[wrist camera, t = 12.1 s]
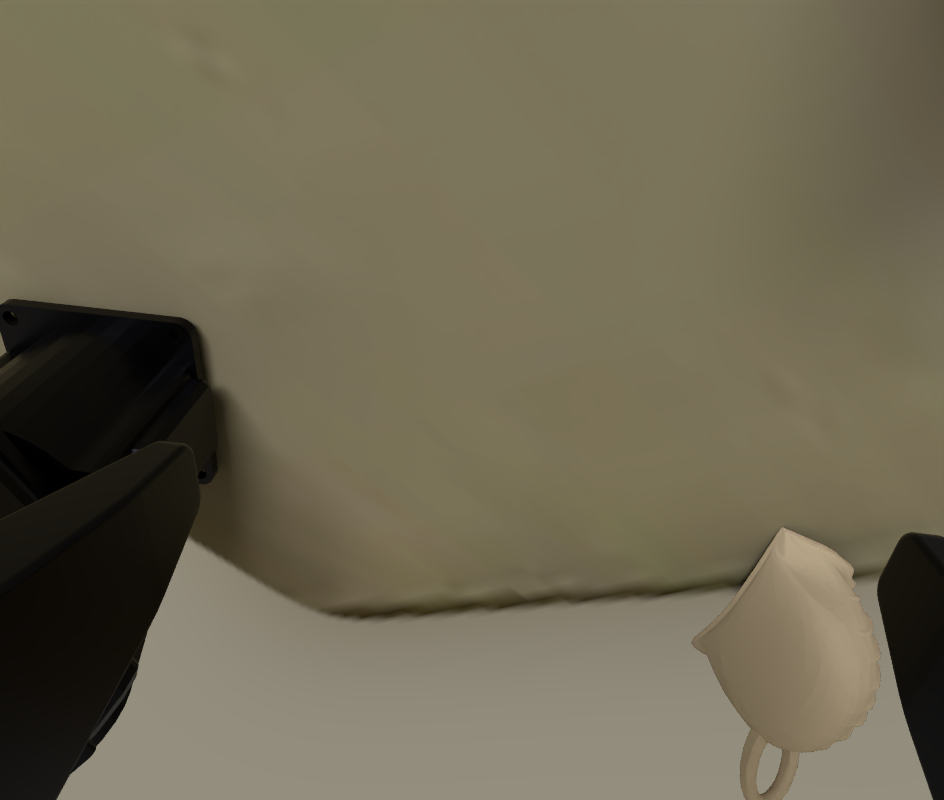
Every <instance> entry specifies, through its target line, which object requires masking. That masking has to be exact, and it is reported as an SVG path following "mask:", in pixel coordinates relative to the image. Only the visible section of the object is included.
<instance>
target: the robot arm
mask: <svg viewBox="0 0 944 800" xmlns="http://www.w3.org/2000/svg"><path fill="white" fill-rule="evenodd" d="M11 312H12V313H14V314H15V315H16V316H17V318H18V319H16V318H15V317H13V315H12V314H11ZM174 330H177V331H180V332H181V333H182V334H183V336H184V338H180V337H178V336H177V335H176V334H175V332H174ZM0 332H1V335H2V339H3V342H4V345H5V348H6V351H7V352H6V353H5V354H4V355H2V356H1V357H0V800H56V799H57V798H58V796H59V794H60V792H61V790H62V788H63V786H64V785H65V783H66V781H67V779H68V777H69V775H70V774H71V773H72V772H74V771H75V770H76V769H77V768H78V767H79V766H81V765H82V764H83V763H84V762H85V761H86V760H88V759H89V758H90V757H91V756H92V754H93V753H94V752H95V750H96V746H97V745H98V744H99V743H100V742H101V740H102V739H103V738H104V737H105V735H106V734H107V732H108V731H109V730H110V729H111V727H112V726H113V725H114V723H115V722H116V720H117V719H118V717H119V715H120V713H121V712H122V710H123V708H124V706H125V704H126V702H127V699H128V696H129V694H130V691H131V688H132V684H133V681H134V680H135V678H136V675H137V670H138V663H139V659H140V656H141V652H142V649H143V645H144V642H145V638H146V635H147V631H148V629H149V627H150V625H151V623H152V621H153V619H154V617H155V615H156V613H157V611H158V609H159V606H160V604H161V602H162V600H163V597H164V595H165V592H166V590H167V588H168V585H169V582H170V580H171V578H172V575H173V573H174V570H175V568H176V565H177V563H178V560H179V557H180V555H181V553H182V550H183V547H184V545H185V542H186V540H187V538H188V535H189V533H190V530H191V528H192V525H193V523H194V520H195V518H196V515H197V513H198V510H199V506H200V496H201V495H200V487H199V484H207V483H210V482H211V481H212V479H213V478H214V476H215V475H216V473H217V470H218V467H217V460H216V454H215V449H216V448H217V446H218V438H217V431H216V424H215V418H214V411H213V404H212V397H211V391H210V386H209V385H208V384H207V382H206V381H205V380H204V376H203V369H202V363H201V356H200V350H199V343H198V337H197V332H196V329H195V327H194V326H193V325H192V323H191V322H189V321H188V320H186V319H184V318H180V317H172V316H163V315H154V314H145V313H136V312H127V311H118V310H109V309H100V308H91V307H82V306H72V305H63V304H54V303H45V302H36V301H27V300H18V299H9V300H7V301H6V302H4V303H3V304H1V305H0ZM202 469H203V470H205V472H203V471H201V470H202ZM877 596H878V601H879V606H880V611H881V615H882V620H883V624H884V629H885V633H886V638H887V642H888V647H889V651H890V656H891V660H892V665H893V669H894V674H895V678H896V683H897V687H898V692H899V696H900V700H901V704H902V708H903V711H904V715H905V718H906V721H907V724H908V727H909V731H910V734H911V736H912V740H913V742H914V745H915V748H916V751H917V754H918V757H919V760H920V763H921V766H922V769H923V771H924V774H925V778H926V780H927V783H928V786H929V789H930V792H931V795H932V798H933V800H944V537H942V536H938V535H931V534H923V533H915V532H911V533H907V534H905V535H903V536H902V537H901V538H900V540H899V541H898V543H897V545H896V547H895V549H894V551H893V553H892V555H891V557H890V559H889V561H888V563H887V564H886V566H885V568H884V570H883V572H882V574H881V576H880V579H879V582H878V588H877Z"/></svg>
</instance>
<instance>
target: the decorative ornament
mask: <svg viewBox="0 0 944 800" xmlns="http://www.w3.org/2000/svg"><path fill="white" fill-rule="evenodd" d="M853 572H854V569H853V567H852V566H851V565H850V564H849V563H848V562H847V561H846V560H844V559H843V558H841V557H840V556H839V555H838V554H837V553H836V552H835V551H833V550H832V549H830V548H828V547H827V546H825V545H823V544H820V543H818V542H816V541H813V540H811V539H809V538H807V537H804V536H802V535H800V534H797V533H795V532H793V531H790V530H788V529H785V528H783V527H782V528H781V529H780V530H779V532H778V533H777V535H776V536H775V538H774V539H773V541H772V542H771V544H770V545H769V547H768V548H767V550H766V552H765V553H764V555H763V556H762V558H761V559H760V561H759V562H758V564H757V565H756V567H755V568H754V570H753V571H752V573H751V574H750V576H749V577H748V579H747V580H746V581H745V583H744V584H743V586H742V587H741V589H740V590H739V591H738V593H737V594H736V596H735V597H734V599H733V600H732V601H731V602H730V603H729V605H728V606H727V607H726V608H725V610H724V611H723V612H722V613H721V614H720V615H719V616H718V617H717V618H716V619H715V620H714V621H713V622H712V623H711V624H710V625H709V626H708V627H706V628H705V629H704V630H703V631H702V632H700V633H699V634H698V635H697V636H696V637H694V639H693V641H692V642H691V643H692V645H693V646H694V647H695V648H696V649H698V650H699V651H701V652H702V653H704V654H706V655H707V656H708V659H709V661H710V663H711V666H712V668H713V670H714V673H715V675H716V677H717V679H718V681H719V682H720V685H721V686H722V689H723V690H724V692H725V694H726V696H727V697H728V698H729V700H730V701H731V703H732V704H733V706H734V707H735V709H736V710H737V712H738V713H739V714H740V715H741V717H742V718H743V719H744V721H745V722H746V723H747V725H748V726H749V727H750V728H751V730H750V732H749V734H748V737H747V740H746V742H745V745H744V747H743V753H742V758H741V763H740V781H741V788H742V792H743V795H744V797H745V799H746V800H781V799H782V798H783V797H784V795H785V794H786V793H787V791H788V789H789V787H790V785H791V783H792V781H793V778H794V776H795V772H796V770H797V767H798V760H799V753H800V752H814V751H818V750H824V749H828V748H829V747H830V746H831V745H832V744H833V743H835V742H837V741H842V740H845V739H848V738H849V737H850V735H851V733H852V731H853V727H859V726H861V725H863V724H864V722H865V721H866V717H867V714H868V711H869V710H871V709H872V708H873V705H874V703H875V701H876V694H875V690H877V689H878V688H879V687H880V678H881V673H880V668H879V664H878V660H879V659H880V657H881V652H880V648H879V645H878V642H877V641H876V638H875V636H874V635H873V633H872V632H873V622H872V620H871V618H870V616H869V615H868V614H867V613H866V612H864V610H863V608H862V606H861V604H860V602H859V601H860V599H861V597H860V596H857V595H856V594H855V593H854V591H853V589H854V587H855V586H856V583H855V582H854V580H853V579H852V575H853ZM767 742H769V743H770V744H772V745H773V746H776V747H778V748H781V749H782V758H781V763H780V768H779V771H778V774H777V776H776V778H775V781H774V782H773V784H772V786H771V787H770V788H769V789H768V790H767V791H766V792H765V793H763V794H759V793H758V790H757V786H756V775H757V768H758V763H759V759H760V757H761V754H762V752H763V749H764V748H765V746H766V744H767Z"/></svg>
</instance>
